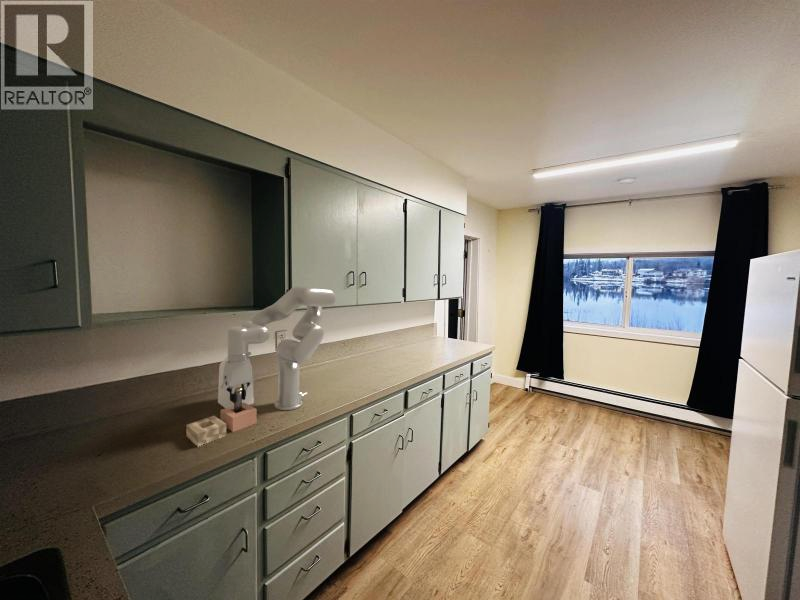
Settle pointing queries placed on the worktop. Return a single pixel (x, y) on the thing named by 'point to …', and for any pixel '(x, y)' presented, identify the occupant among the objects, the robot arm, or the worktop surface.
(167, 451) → the worktop surface
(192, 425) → the mount
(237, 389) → the pin
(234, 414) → the dock
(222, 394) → the milk
